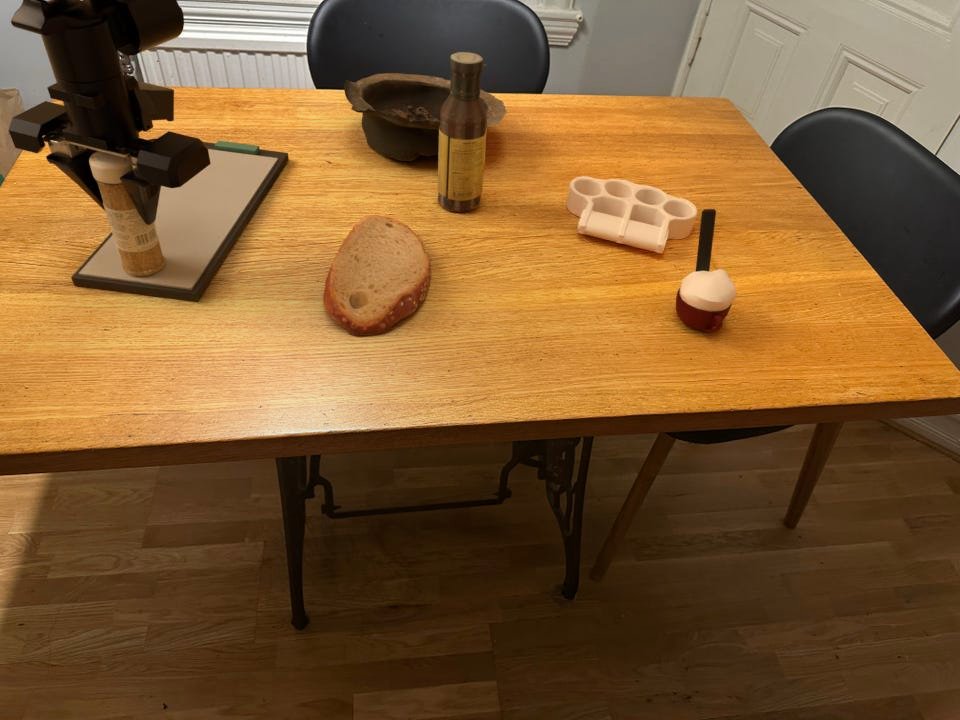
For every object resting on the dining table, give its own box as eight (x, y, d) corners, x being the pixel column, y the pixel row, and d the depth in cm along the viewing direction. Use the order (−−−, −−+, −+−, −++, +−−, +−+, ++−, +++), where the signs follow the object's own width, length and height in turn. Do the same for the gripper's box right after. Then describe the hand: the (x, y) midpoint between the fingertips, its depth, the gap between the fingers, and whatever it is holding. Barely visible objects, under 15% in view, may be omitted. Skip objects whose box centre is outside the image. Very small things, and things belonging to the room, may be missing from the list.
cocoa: (722, 349, 80) (761, 262, 71) (668, 337, 80) (699, 250, 72) (721, 300, 86) (756, 216, 78) (670, 289, 87) (700, 205, 79)
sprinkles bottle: (157, 250, 81) (128, 141, 72) (172, 270, 78) (144, 159, 69) (116, 262, 79) (81, 151, 70) (130, 283, 76) (96, 170, 67)
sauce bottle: (489, 202, 99) (505, 59, 85) (462, 219, 95) (475, 71, 81) (453, 186, 101) (464, 44, 87) (426, 202, 97) (432, 55, 84)
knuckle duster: (552, 233, 94) (574, 184, 105) (684, 266, 91) (694, 213, 102) (556, 211, 92) (578, 164, 102) (692, 245, 89) (701, 192, 99)
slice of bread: (385, 220, 93) (384, 195, 90) (478, 285, 84) (481, 259, 82) (266, 268, 83) (262, 241, 80) (358, 347, 74) (357, 321, 72)
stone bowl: (345, 177, 99) (341, 112, 93) (347, 115, 118) (345, 57, 113) (515, 178, 103) (522, 116, 97) (491, 117, 122) (495, 62, 116)
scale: (198, 302, 77) (194, 287, 76) (73, 285, 77) (68, 271, 76) (289, 160, 102) (287, 147, 101) (194, 148, 102) (192, 135, 101)
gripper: (228, 61, 68) (250, 202, 79) (65, 25, 71) (107, 165, 82) (156, 104, 60) (191, 254, 71) (-24, 61, 63) (36, 211, 74)
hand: (131, 217), depth 74 cm, fingers closed on sprinkles bottle, 4 cm apart
